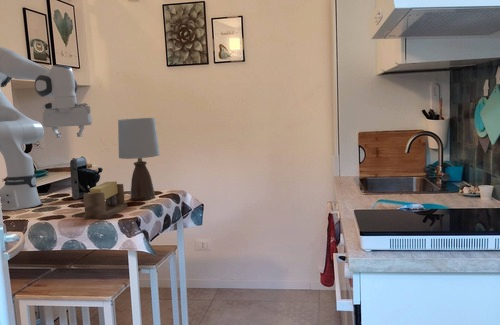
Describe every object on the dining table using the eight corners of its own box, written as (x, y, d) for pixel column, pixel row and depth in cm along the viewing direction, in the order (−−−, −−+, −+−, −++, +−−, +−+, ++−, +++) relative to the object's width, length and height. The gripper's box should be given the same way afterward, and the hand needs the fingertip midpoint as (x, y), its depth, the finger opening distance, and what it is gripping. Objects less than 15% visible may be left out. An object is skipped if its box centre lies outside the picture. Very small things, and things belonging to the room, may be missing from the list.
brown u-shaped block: (83, 219, 181) (80, 193, 180) (105, 207, 201) (103, 184, 200) (107, 218, 180) (105, 193, 178) (127, 206, 200) (125, 183, 199)
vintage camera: (101, 200, 220) (99, 158, 218) (71, 199, 223) (69, 158, 221) (110, 196, 230) (109, 156, 227) (82, 195, 232) (80, 156, 230)
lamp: (153, 201, 208) (147, 118, 204) (115, 201, 212) (108, 120, 208) (168, 193, 226) (163, 117, 222) (133, 193, 230) (127, 118, 226)
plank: (90, 201, 182) (89, 188, 181) (107, 193, 198) (106, 181, 197) (101, 201, 181) (100, 188, 181) (117, 193, 197) (116, 181, 197)
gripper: (92, 102, 196) (95, 135, 198) (47, 105, 199) (50, 137, 201) (86, 102, 190) (89, 136, 192) (38, 105, 193) (42, 138, 194)
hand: (69, 137), depth 196 cm, fingers open, 8 cm apart
